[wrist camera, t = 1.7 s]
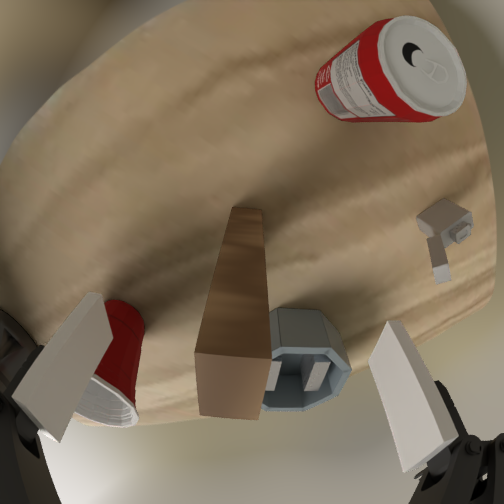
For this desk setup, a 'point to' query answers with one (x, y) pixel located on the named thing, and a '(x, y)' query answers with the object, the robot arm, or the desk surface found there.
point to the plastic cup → (116, 371)
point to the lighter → (444, 233)
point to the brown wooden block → (236, 325)
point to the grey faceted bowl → (292, 349)
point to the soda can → (393, 74)
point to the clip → (303, 371)
